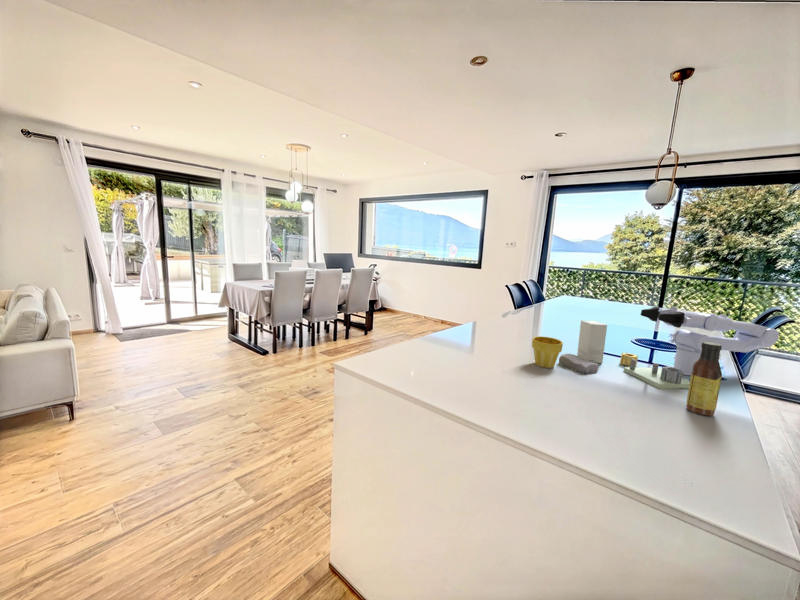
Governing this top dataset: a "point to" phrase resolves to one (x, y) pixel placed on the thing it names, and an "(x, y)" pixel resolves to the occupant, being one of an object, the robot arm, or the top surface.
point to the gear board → (654, 376)
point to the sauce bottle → (705, 381)
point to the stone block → (578, 363)
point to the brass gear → (628, 358)
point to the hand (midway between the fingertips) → (650, 314)
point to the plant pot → (546, 351)
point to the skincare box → (592, 341)
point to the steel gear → (671, 375)
